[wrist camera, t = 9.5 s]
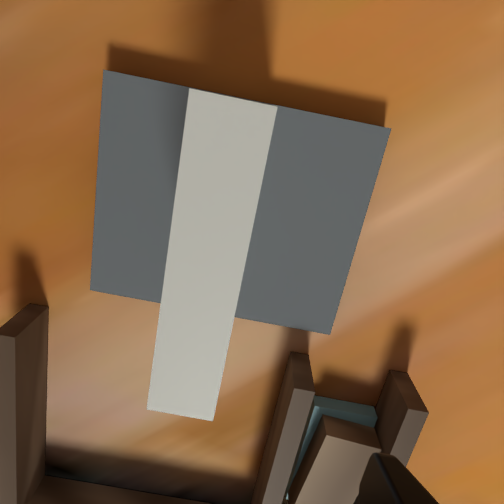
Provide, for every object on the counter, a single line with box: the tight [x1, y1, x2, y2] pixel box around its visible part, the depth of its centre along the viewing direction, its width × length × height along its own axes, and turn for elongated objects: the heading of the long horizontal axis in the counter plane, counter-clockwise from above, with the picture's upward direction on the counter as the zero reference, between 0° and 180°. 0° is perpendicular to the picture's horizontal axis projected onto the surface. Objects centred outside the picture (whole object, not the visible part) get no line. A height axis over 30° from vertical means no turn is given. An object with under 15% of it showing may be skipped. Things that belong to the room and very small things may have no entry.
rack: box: [0, 304, 429, 504], centre depth 22 cm, size 20×13×3 cm, turn 79°
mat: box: [90, 70, 391, 335], centre depth 19 cm, size 12×10×1 cm
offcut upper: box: [288, 414, 382, 504], centre depth 22 cm, size 3×6×2 cm, turn 163°
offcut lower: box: [285, 395, 378, 499], centre depth 24 cm, size 4×7×2 cm, turn 169°
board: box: [147, 88, 277, 421], centre depth 14 cm, size 2×9×8 cm, turn 169°
